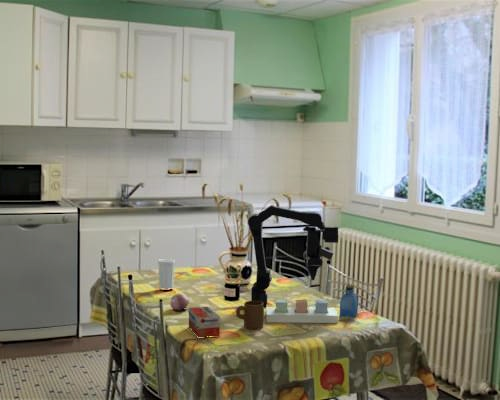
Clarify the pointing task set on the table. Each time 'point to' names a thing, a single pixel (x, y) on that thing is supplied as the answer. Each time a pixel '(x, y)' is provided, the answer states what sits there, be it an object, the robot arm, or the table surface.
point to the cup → (166, 273)
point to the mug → (252, 314)
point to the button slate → (321, 306)
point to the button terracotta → (301, 306)
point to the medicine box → (204, 321)
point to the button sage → (281, 305)
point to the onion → (179, 302)
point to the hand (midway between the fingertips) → (311, 277)
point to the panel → (301, 315)
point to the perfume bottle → (349, 303)
